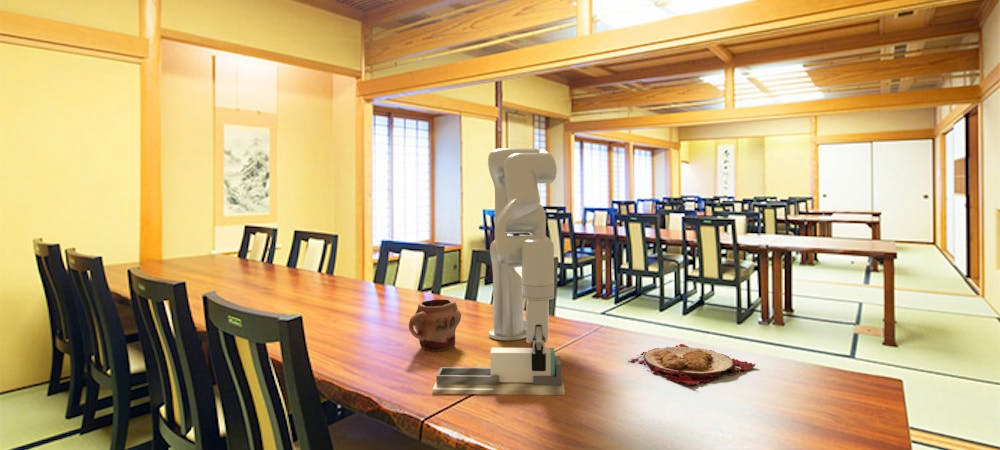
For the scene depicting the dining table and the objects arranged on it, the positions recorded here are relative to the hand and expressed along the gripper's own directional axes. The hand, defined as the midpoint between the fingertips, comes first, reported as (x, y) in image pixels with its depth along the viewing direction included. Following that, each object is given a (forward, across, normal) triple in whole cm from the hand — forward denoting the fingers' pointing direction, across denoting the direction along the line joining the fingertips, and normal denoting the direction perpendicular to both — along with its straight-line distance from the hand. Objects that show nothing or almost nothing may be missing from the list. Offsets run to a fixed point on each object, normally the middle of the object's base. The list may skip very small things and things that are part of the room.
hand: (538, 363), depth 120 cm
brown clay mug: (+5, -28, -30) cm, 41 cm away
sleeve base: (+5, 0, -9) cm, 11 cm away
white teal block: (+4, 0, -4) cm, 5 cm away
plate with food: (+6, -16, +39) cm, 43 cm away
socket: (+4, 0, +2) cm, 5 cm away
